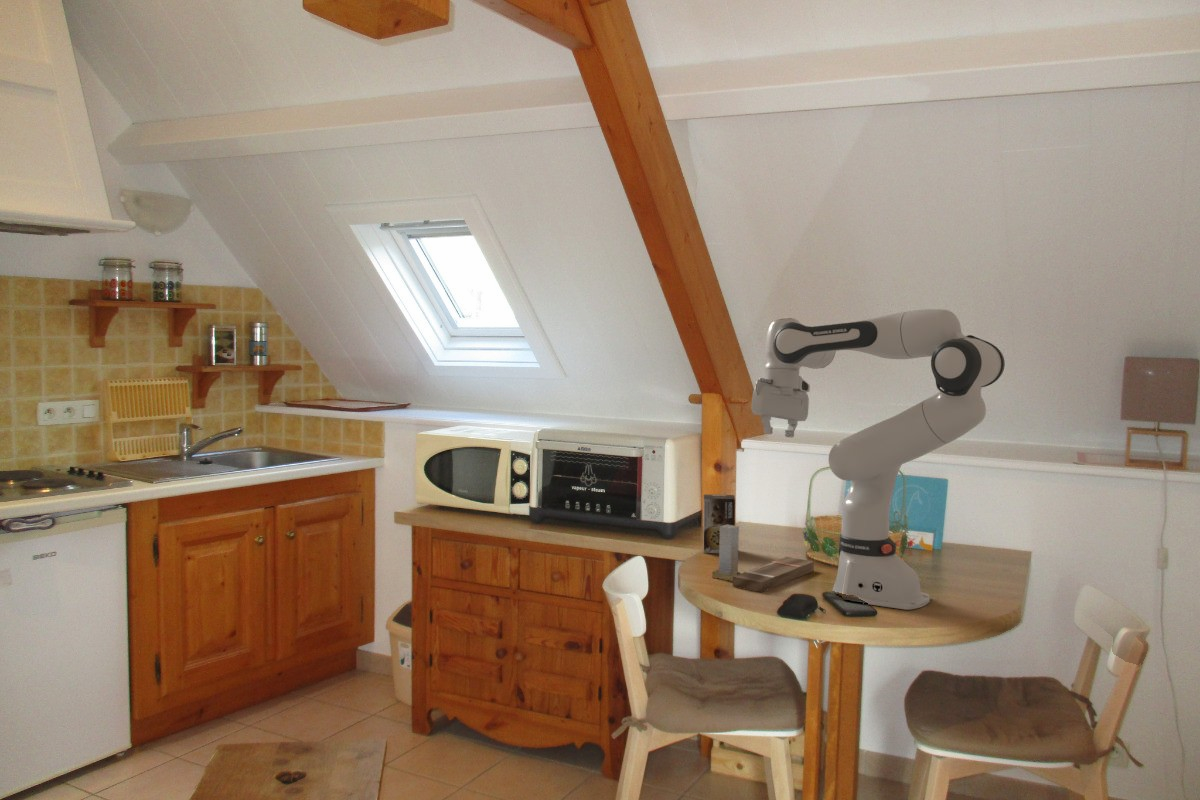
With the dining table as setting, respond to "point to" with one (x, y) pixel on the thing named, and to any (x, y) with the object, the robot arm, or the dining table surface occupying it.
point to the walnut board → (773, 574)
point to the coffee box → (716, 519)
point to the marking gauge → (728, 553)
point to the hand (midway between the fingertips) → (778, 435)
